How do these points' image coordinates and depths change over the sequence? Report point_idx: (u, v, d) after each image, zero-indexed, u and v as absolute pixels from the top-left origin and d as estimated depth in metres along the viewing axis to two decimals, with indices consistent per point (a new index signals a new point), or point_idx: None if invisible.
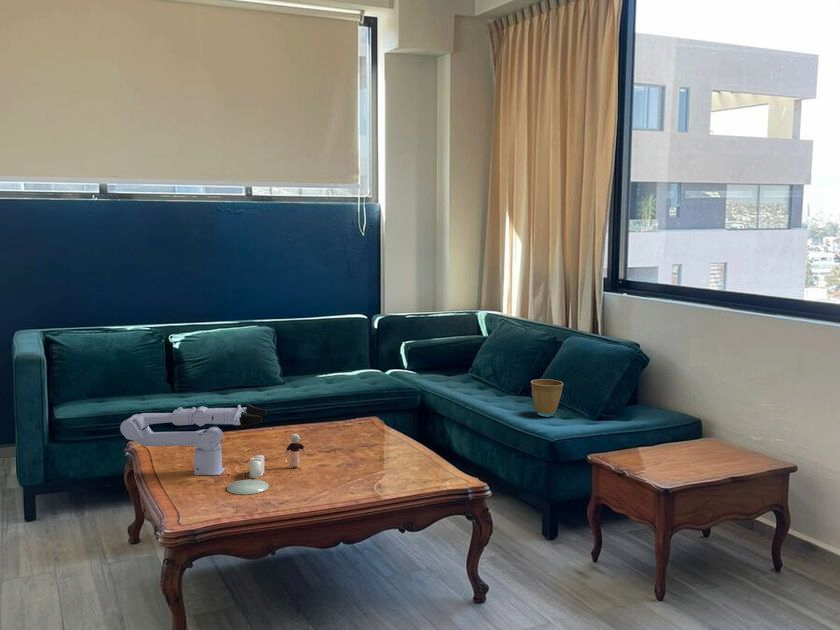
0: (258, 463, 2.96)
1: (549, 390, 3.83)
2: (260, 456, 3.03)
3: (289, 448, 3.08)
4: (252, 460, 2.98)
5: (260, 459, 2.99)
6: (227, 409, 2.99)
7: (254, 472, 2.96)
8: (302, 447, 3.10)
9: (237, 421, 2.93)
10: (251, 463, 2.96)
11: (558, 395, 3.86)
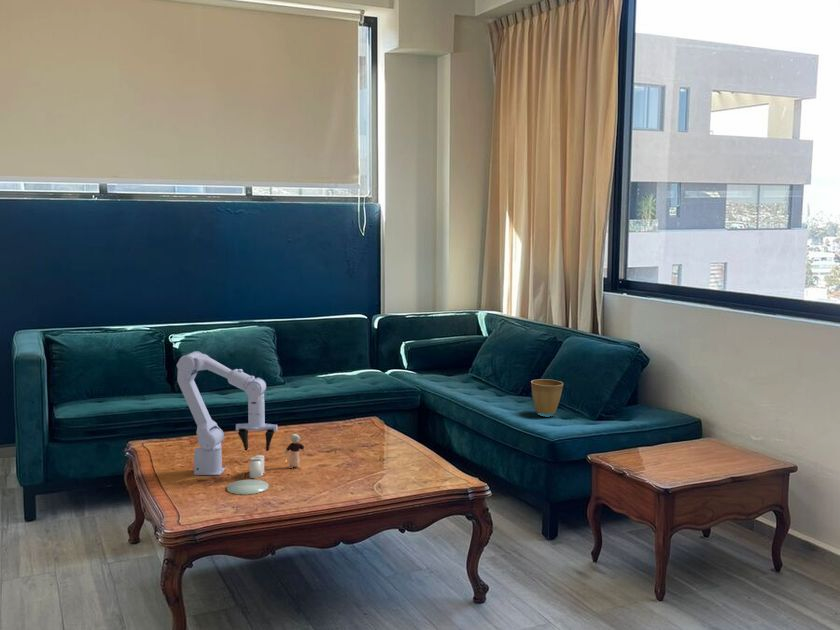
0: (258, 463, 2.96)
1: (549, 390, 3.83)
2: (260, 456, 3.03)
3: (289, 448, 3.08)
4: (252, 460, 2.98)
5: (260, 459, 2.99)
6: (252, 416, 2.95)
7: (254, 472, 2.96)
8: (302, 447, 3.10)
9: None
10: (251, 463, 2.96)
11: (558, 395, 3.86)
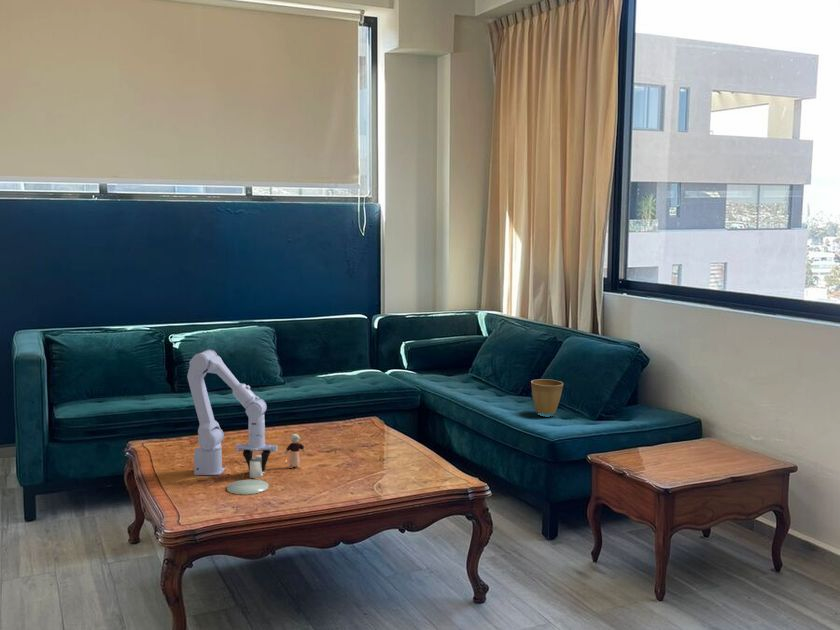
0: (258, 463, 2.96)
1: (549, 390, 3.83)
2: (260, 456, 3.03)
3: (289, 448, 3.08)
4: (252, 460, 2.98)
5: (260, 459, 2.99)
6: (252, 437, 2.96)
7: (254, 472, 2.96)
8: (302, 447, 3.10)
9: None
10: (251, 463, 2.96)
11: (558, 395, 3.86)
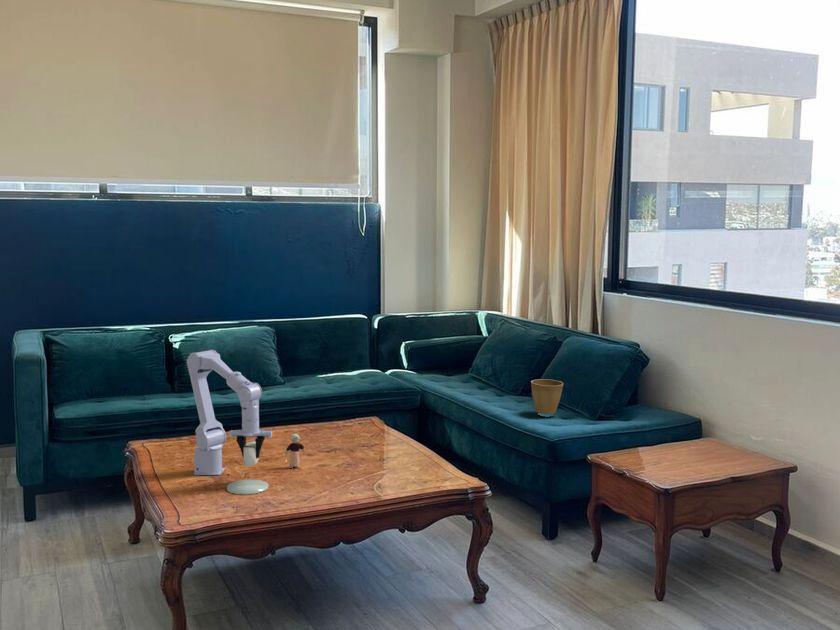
0: (252, 449, 2.87)
1: (549, 390, 3.83)
2: (254, 442, 2.93)
3: (289, 448, 3.08)
4: (246, 446, 2.88)
5: (254, 445, 2.90)
6: (246, 422, 2.86)
7: (249, 459, 2.86)
8: (302, 447, 3.10)
9: None
10: (245, 449, 2.86)
11: (558, 395, 3.86)
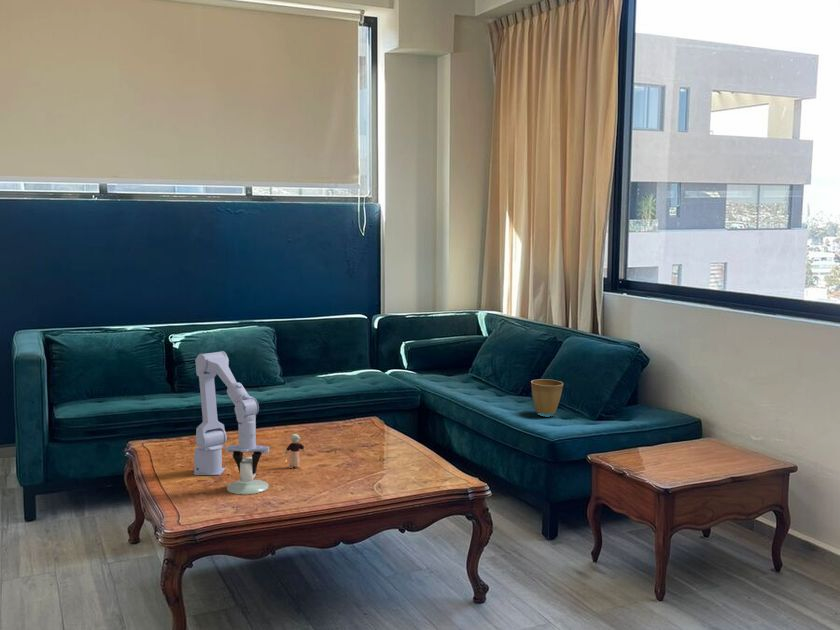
0: (249, 465, 2.82)
1: (549, 390, 3.83)
2: (251, 458, 2.89)
3: (289, 448, 3.08)
4: (242, 462, 2.84)
5: (251, 461, 2.85)
6: (243, 438, 2.82)
7: (245, 475, 2.82)
8: (302, 447, 3.10)
9: None
10: (241, 465, 2.82)
11: (558, 395, 3.86)
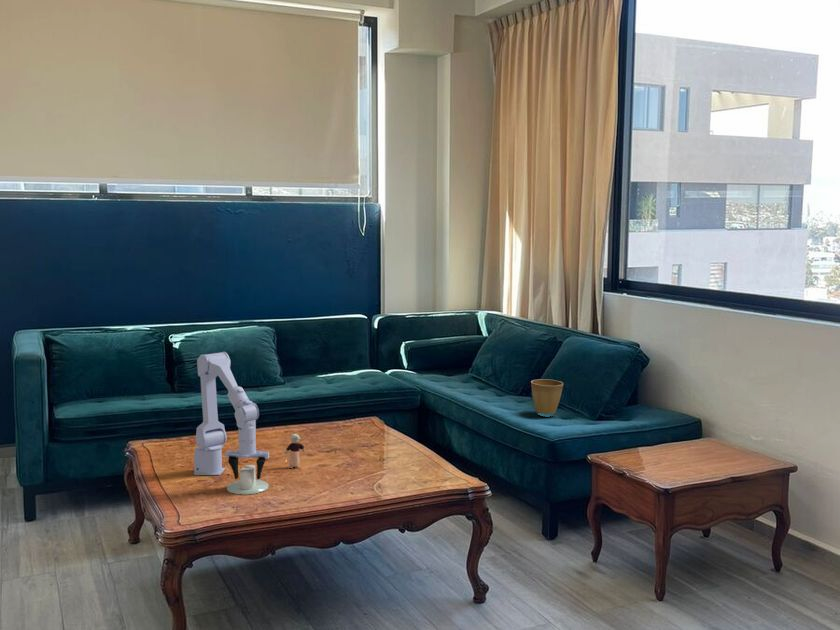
0: (249, 474, 2.83)
1: (549, 390, 3.83)
2: (251, 466, 2.89)
3: (289, 448, 3.08)
4: (242, 470, 2.84)
5: (251, 469, 2.86)
6: (243, 443, 2.82)
7: (245, 483, 2.82)
8: (302, 447, 3.10)
9: None
10: (241, 474, 2.82)
11: (558, 395, 3.86)
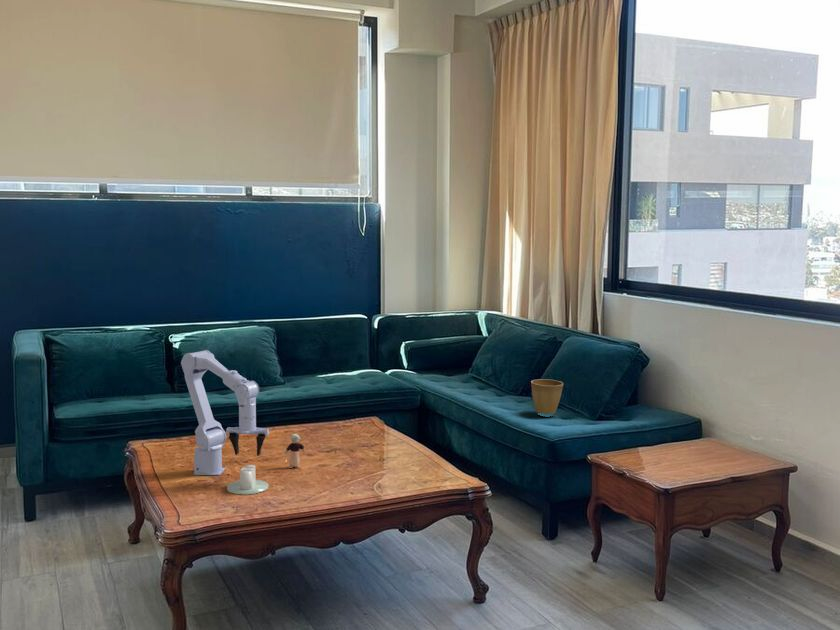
0: (249, 474, 2.83)
1: (549, 390, 3.83)
2: (251, 466, 2.89)
3: (289, 448, 3.08)
4: (242, 470, 2.84)
5: (251, 469, 2.86)
6: (243, 420, 2.89)
7: (245, 483, 2.82)
8: (302, 447, 3.10)
9: None
10: (241, 474, 2.82)
11: (558, 395, 3.86)
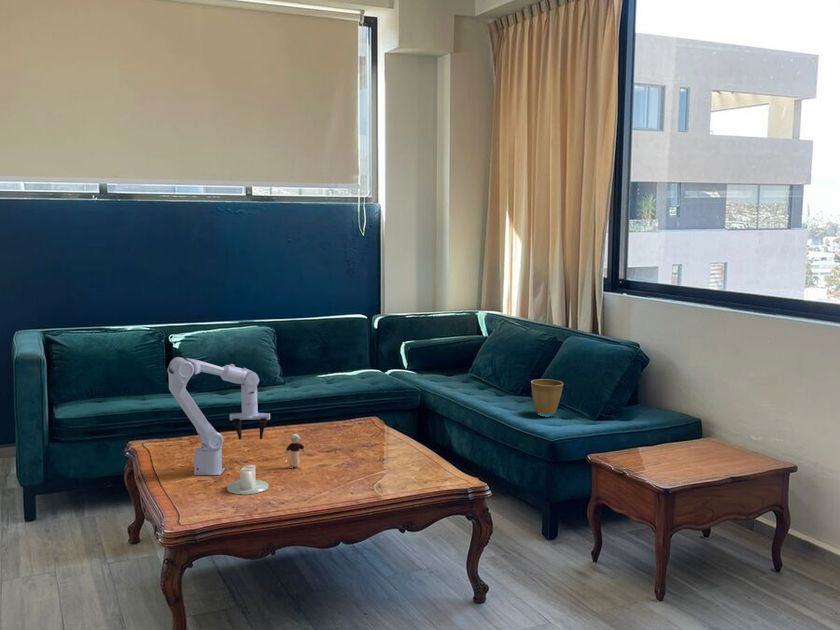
0: (249, 474, 2.83)
1: (549, 390, 3.83)
2: (251, 466, 2.89)
3: (289, 448, 3.08)
4: (242, 470, 2.84)
5: (251, 469, 2.86)
6: (246, 406, 3.05)
7: (245, 483, 2.82)
8: (302, 447, 3.10)
9: None
10: (241, 474, 2.82)
11: (558, 395, 3.86)
